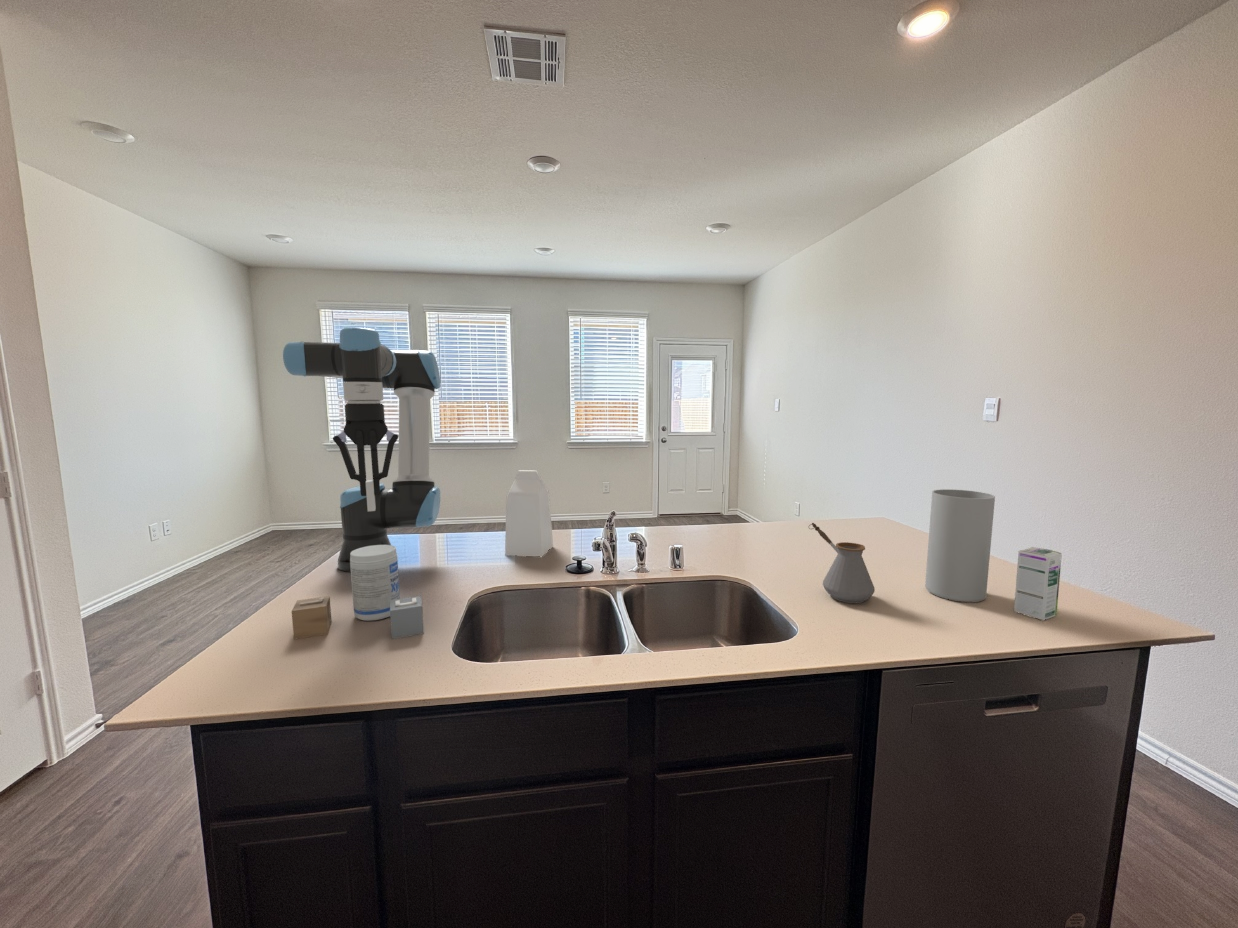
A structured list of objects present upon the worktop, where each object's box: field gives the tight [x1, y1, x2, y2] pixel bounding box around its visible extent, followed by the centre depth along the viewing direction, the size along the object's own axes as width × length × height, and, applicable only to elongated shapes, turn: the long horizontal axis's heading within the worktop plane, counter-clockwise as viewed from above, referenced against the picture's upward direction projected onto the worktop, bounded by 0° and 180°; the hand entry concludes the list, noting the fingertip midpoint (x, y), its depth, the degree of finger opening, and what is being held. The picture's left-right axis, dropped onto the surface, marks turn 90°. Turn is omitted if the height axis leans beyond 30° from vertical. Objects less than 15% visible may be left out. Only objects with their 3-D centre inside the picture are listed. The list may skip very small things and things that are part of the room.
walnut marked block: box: [291, 595, 333, 640], centre depth 104 cm, size 6×6×6 cm
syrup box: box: [1013, 546, 1063, 621], centre depth 110 cm, size 6×6×14 cm
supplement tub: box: [350, 544, 401, 621], centre depth 112 cm, size 10×10×15 cm
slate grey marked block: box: [389, 595, 425, 640], centre depth 104 cm, size 6×6×6 cm
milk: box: [504, 469, 554, 557], centre depth 159 cm, size 12×12×26 cm
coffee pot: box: [808, 522, 876, 604], centre depth 125 cm, size 21×12×15 cm, turn 13°
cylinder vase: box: [924, 488, 996, 603], centre depth 122 cm, size 12×12×25 cm
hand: (371, 509), depth 110 cm, fingers closed
